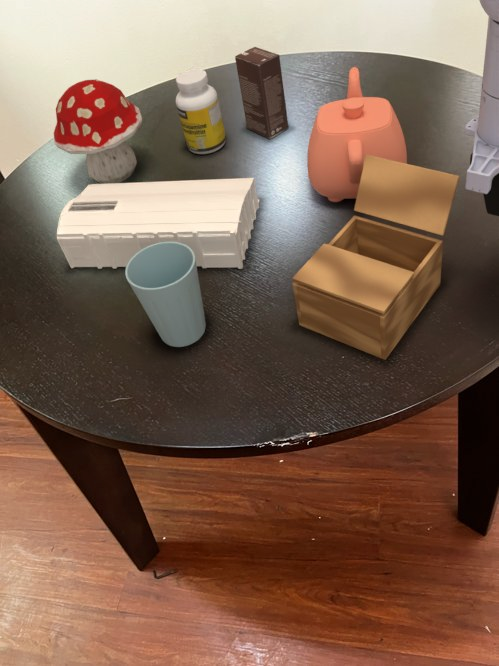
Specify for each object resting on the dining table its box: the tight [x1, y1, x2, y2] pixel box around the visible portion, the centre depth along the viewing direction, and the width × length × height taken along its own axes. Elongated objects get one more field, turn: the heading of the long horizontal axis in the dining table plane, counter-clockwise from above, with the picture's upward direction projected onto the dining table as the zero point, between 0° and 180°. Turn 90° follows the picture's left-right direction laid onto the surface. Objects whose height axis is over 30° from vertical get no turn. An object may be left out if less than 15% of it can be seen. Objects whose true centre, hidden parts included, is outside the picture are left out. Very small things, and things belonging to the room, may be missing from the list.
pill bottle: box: [175, 68, 227, 155], centre depth 100 cm, size 6×6×12 cm
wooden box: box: [291, 215, 444, 361], centre depth 72 cm, size 13×11×7 cm
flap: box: [353, 155, 461, 236], centre depth 71 cm, size 6×11×1 cm
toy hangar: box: [56, 177, 260, 270], centre depth 88 cm, size 25×15×7 cm, turn 80°
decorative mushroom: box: [53, 78, 143, 184], centre depth 98 cm, size 14×14×15 cm
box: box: [234, 46, 289, 140], centre depth 101 cm, size 6×4×12 cm
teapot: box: [306, 66, 408, 203], centre depth 87 cm, size 13×20×12 cm, turn 174°
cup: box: [124, 241, 207, 348], centre depth 73 cm, size 8×8×10 cm
